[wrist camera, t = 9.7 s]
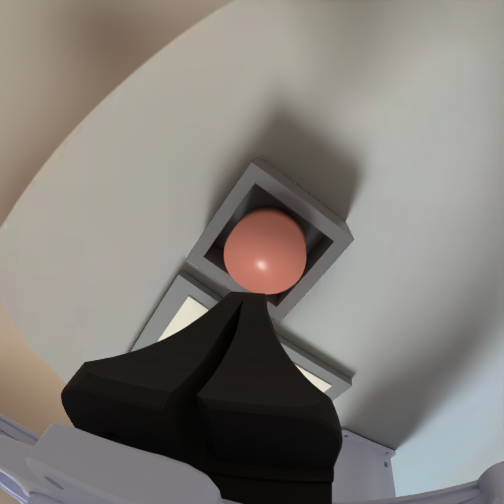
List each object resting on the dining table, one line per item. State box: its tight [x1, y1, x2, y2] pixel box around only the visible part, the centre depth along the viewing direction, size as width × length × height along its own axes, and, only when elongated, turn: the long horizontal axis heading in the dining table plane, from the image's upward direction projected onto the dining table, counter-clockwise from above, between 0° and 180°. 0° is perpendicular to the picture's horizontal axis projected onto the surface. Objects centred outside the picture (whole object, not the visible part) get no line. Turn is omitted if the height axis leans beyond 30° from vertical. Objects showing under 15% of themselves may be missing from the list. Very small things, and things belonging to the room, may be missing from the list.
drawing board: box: [131, 270, 352, 401], centre depth 26 cm, size 17×13×1 cm
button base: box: [186, 157, 354, 322], centre depth 20 cm, size 7×7×4 cm
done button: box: [224, 206, 306, 294], centre depth 18 cm, size 4×4×2 cm
